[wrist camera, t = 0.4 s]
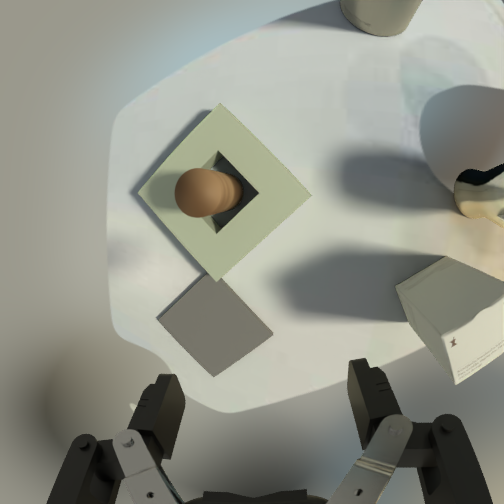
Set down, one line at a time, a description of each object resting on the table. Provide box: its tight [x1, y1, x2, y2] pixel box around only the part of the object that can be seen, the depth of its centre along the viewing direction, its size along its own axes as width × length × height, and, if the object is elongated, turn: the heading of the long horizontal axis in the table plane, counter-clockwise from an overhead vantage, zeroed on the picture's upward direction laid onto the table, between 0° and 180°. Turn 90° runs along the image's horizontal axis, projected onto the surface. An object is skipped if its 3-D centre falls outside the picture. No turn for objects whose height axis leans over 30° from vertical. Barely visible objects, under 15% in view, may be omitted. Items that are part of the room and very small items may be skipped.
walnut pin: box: [174, 168, 243, 218], centre depth 30 cm, size 4×4×9 cm
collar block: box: [138, 103, 312, 282], centre depth 33 cm, size 14×14×3 cm
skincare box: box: [395, 256, 504, 385], centre depth 25 cm, size 8×6×15 cm
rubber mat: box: [158, 273, 273, 377], centre depth 38 cm, size 11×11×1 cm
